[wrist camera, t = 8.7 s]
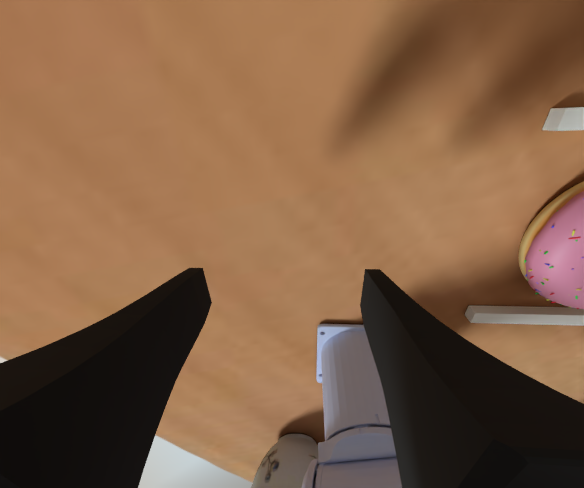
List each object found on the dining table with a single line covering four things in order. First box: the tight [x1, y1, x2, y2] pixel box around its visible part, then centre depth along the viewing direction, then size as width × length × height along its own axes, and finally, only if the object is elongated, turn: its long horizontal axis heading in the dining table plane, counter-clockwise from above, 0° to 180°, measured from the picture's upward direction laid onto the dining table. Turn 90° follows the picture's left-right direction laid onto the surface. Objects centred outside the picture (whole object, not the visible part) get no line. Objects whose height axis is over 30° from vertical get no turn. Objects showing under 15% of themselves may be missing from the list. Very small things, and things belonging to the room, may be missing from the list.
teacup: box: [251, 434, 318, 488], centre depth 34 cm, size 15×12×8 cm
